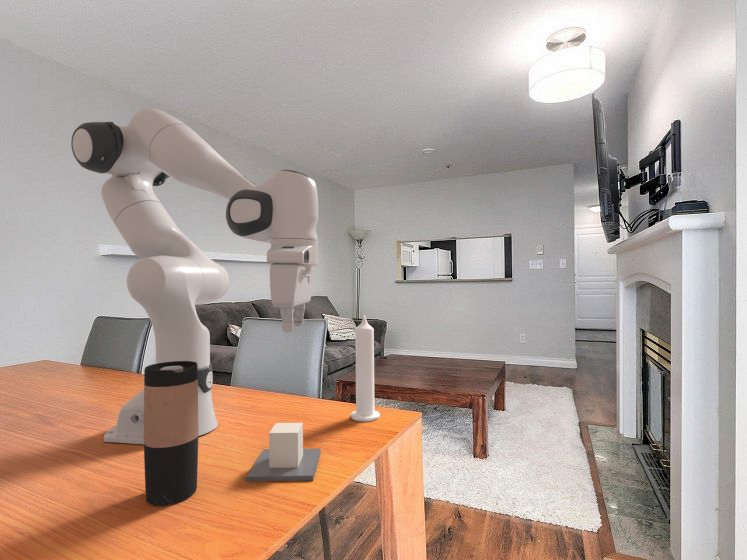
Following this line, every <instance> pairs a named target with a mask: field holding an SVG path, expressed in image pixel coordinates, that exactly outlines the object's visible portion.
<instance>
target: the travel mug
mask: <svg viewBox="0 0 747 560" xmlns="http://www.w3.org/2000/svg"><path fill="white" fill-rule="evenodd" d="M143 377H144V378H143V381H144V382H143V389H144V444H143V457H144V458H143V459H144V461H143V462H144V464H143V465H144V487H145V489H144V490H145V501H146V503H147V504H148V505H150V506H155V507H165V506H171V505H175V504H178V503H181V502H184V501H186V500H188V499H190V498H191V497H192V496H193V495H195V494H196V491H197V488H198V463H199V436H198V434H199V431H198V365H197V363H196V362H193V361H172V362H163V363H157V364H156V363H153V364H149V365H147V366H145V367H144V371H143Z"/></svg>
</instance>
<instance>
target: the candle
mask: <svg viewBox="0 0 747 560" xmlns="http://www.w3.org/2000/svg"><path fill="white" fill-rule="evenodd" d="M374 331H375V329H374V327H372V325H370V324H369V322H368V321H367V316H366V314H364V315H363V317H362V320H361V322H360V324H359V325H357V327H355V330H354V332H355V339H354V340H355V410H354V411H352V412H351V413H350V417H351V418H350V419H352V420H353V421H357V422H373V421H376V420H378V419H380V417H381V414H380V412H379V411H377V410H375V346H374V345H375V336H374V334H375V332H374Z"/></svg>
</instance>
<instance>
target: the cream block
mask: <svg viewBox="0 0 747 560" xmlns="http://www.w3.org/2000/svg"><path fill="white" fill-rule="evenodd" d="M303 424H304V423H303V422H275V423H274V425H273V427H272V428H271V429H270V431H269V433H268V449H269V468H296V467H299V464H300V462H301V459H302V457H303V449H304V427H303V426H304V425H303Z"/></svg>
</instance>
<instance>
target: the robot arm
mask: <svg viewBox="0 0 747 560" xmlns="http://www.w3.org/2000/svg"><path fill="white" fill-rule="evenodd" d="M70 143H71V150H72V154H73V156H74V159H75V160H76V162H77V163H78V164H79V165H80V166H81V168H84V169H86V170H87V171H91V172H95V173H98V174H109V175H111V176H110V177H109V178H108V179H107V180H105V182H104V183H103V184H102V186H101V190H100V194H101V198H102V201H103V204H104V206H105V209H106V211H107V213H108V215H109V217H110V219H111V220H112V222H113V224H114V226H115V227H116V229H117V230H118V232H119V233H120V235H121V237H122V238H123V240H124V242H125V243H126V244H127V246H128V247H129V249H130V250H131V252H132V253H133V254H134V255H135V256H137V257H138V258H139V259H138V260H137V261H135V262H134V263H133V264H132V265H131V266H130V268H129V270H128V272H127V275H126V287H127V290H128V292H129V295H130V296H131V298H132V299H133V300H134V301H135V302H137V303H138V304H139V305H141V307H142V308H143V309H144V310H145V312H146V313H147V315H148V318H149V320H150V323H151V326H152V329H153V332H154V333H153V334H154V342H155V343H154V344H155V364H157V363H163V362H172V361H193V362H196V363H197V365H198V431H199V434H198V437H200V436H202V435H206V434H208V433H210V432H212V431H214V430H215V429H216V428H217V427H218V426H219V423H218V420H217V417H216V413H215V409H214V408H215V407H214V402H213V397H212V388H213V381H214V379H213V375H214V374H213V366H212V363H211V334H210V330H209V328H208V327H207V326H205V325H204V324H203V323H202V322H201V319H200V318H199V315H198V313H197V309H196V305H206V304H209V303H212V302H215V301H218V300H219V299H221V298H223V297H224V296H225V295H226V293H227V292H228V289H229V286H230V277H229V274H228V271H227V270H226V268H225V267H223V266H222V265H221V264H219V263H218V262H216V261H214V260H213V259H211V257H210V256H208V255H206V254H205V252H204V251H202V249H200V248H199V246H197V245H196V244H195V243H194V242H192V241H191V240H190V239H189V237H187V235H185V234H184V232H182V230H181V229H180V228H179V226H177V224H176V223H175V221H174V219H173V218H172V217H171V215H170V214H169V213H168V211H167V210H166V208H165V207H164V205H163V204H162V203H161V201H160V200H159V198H158V197H157V195H156V193H155V192H154V189H153V188H154V187H158V186H161V185H163V184H165V182H166V180H167V179H168V178H171V179H174V180H176V181H177V182H180V183H181V184H184V185H187V186H189V187H194V188H196V189H200V190H203V191H206V192H210V193H212V194H216V195H218V196H221V197H223V198H225V199H227V200H229V201H228V202H227V205H226V209H225V219H226V223H227V226H228V228H229V229H230V230H231V232H232V233H234V234H235V235H237V236H239V237H240V238H243V239H247V240H252V241H253V240H254V241H256V242H263V243H266V244H267V243H268V244H270V248H269V249H268V250H267V252H266V263H267V264H269V265H270V266H269V286H270V287H269V288H270V290H269V291H270V298H271V299H270V300H271V303H272V306H273V307H274V308H280V312H279V313H280V317H281V322H282V329H281V330H282V332H284V333H291V332H293V331H294V329H295V327H301V326H303V324H304V316H305V310H306V304H307V303H310V302H311V299H312V277H311V276H312V275H311V274H312V267H317V266H318V265H319V264H318V263H319V256H318V255H319V237H318V234H317V224H318V222H319V195H318V188H317V184H316V181H315V180H314V179H313V178H312V177H310V176H309V175H308V174H306V173H303V172H300V171H297V170H291V169H281V170H277V171H275V172H274V173H273V174H272V176H271V177H270V178H269V179H267V180H266V181H263V182H261V183H260V184H258V185H257V184H255V183H254V182H252V181H251V180H250V179H248V178H247V177H246V176H244V175H242V173H240V172H239V171H238V170H237V169H236V168H234V167H233V165H231V164H230V163H229V162H228V161H227V160H226V159H225V158H224V157H222V156H221V155H220V154H219V153H218V152H217V151H216V150H215V149H214V148H213V147H212V145H210V144H209V143H208V142H207V141H205V139H203V138H202V137H201V136H200V135H199V134H198V133H197V132H196V131H195V130H193V129H192V128H191V127H189V126H188V125H187V124H186V123H184V122H183V121H181V120H180V119H178V118H177V117H175V116H173V115H171V114H170V113H167V112H165V111H163V110H161V109H159V108H158V109H157V108H155V107H146V108H143V109H141V110H138V111H137V112H135V113H134V115H133V116H132V117H131V118H130V122H129V123H128V125H120V124H115V123H114V122H113V121H92V122H83V123H81V124H79V125H78V126H77V127H76V129H75V130H73V133H72V136H71V142H70ZM103 442H105V443H116V444H117V443H118V444H131V445H132V444H133V445H134V444H135V445H144V388H143V389H142V390H141V391H140V392H138V393H137V394H136V395H134V396H133V397H132V398H131V399H129V400H128V401H127V402H126V403H125V404H123V405H122V407H121V408H120V409H119V412H118V414H117V419H116V424H115V426H113V427H112V428H110V429H108V430H107V431H106V432H105V434H104V436H103Z"/></svg>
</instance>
